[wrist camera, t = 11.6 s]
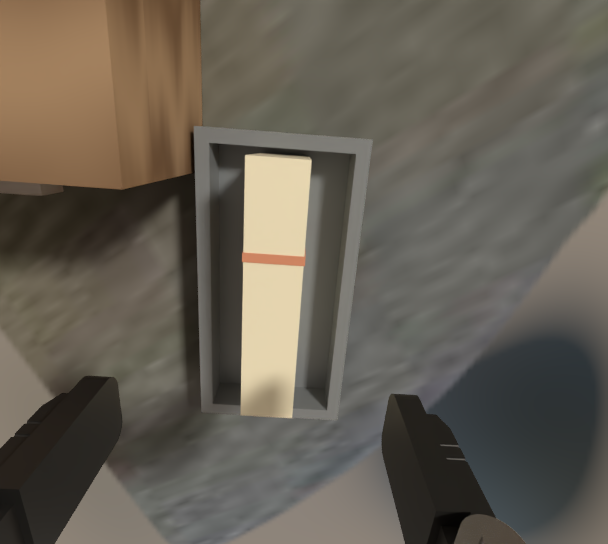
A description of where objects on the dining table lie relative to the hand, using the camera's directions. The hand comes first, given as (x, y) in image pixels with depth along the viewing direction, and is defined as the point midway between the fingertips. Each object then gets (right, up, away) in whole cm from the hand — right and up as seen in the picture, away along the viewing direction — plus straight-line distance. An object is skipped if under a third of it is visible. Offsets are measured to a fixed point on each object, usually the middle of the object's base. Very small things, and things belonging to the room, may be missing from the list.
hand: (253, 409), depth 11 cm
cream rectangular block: (0, +5, +11) cm, 11 cm away
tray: (0, +4, +11) cm, 12 cm away
